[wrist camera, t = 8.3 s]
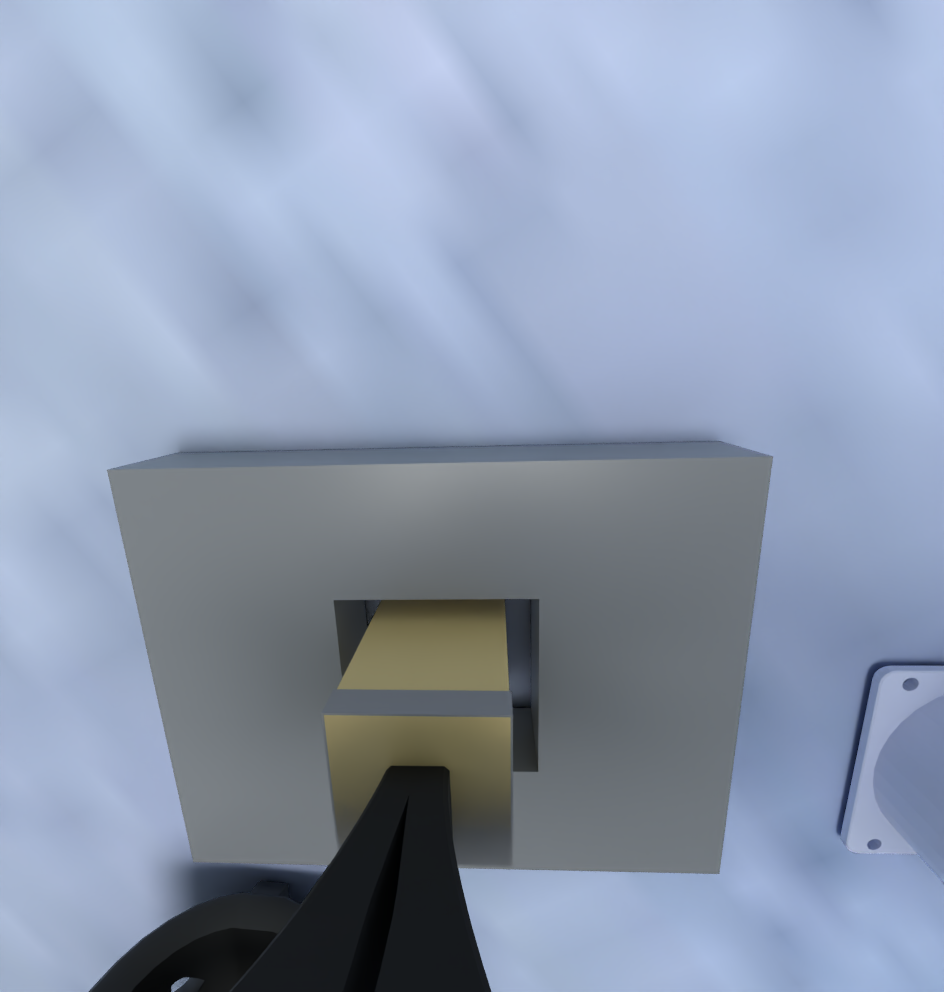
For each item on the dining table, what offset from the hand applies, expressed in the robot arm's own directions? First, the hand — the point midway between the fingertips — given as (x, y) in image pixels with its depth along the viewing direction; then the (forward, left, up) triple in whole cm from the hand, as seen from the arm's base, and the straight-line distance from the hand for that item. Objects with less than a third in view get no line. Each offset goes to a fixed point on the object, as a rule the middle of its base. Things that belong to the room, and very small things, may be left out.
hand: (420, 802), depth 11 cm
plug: (0, 0, -7) cm, 7 cm away
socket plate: (0, 0, -7) cm, 7 cm away
